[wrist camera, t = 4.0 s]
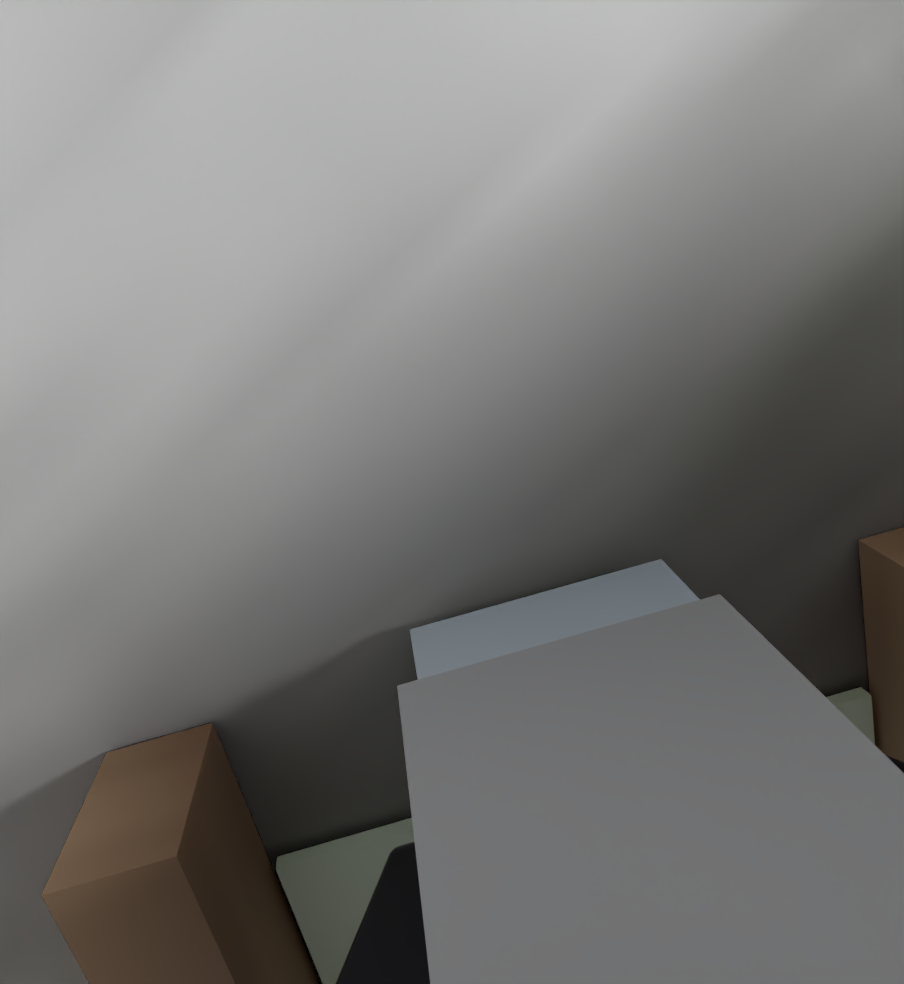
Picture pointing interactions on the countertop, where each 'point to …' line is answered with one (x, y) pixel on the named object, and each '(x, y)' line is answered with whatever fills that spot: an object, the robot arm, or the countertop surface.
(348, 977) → the robot arm
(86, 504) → the countertop surface
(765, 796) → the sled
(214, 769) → the tunnel channel
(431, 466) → the countertop surface
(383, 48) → the countertop surface
